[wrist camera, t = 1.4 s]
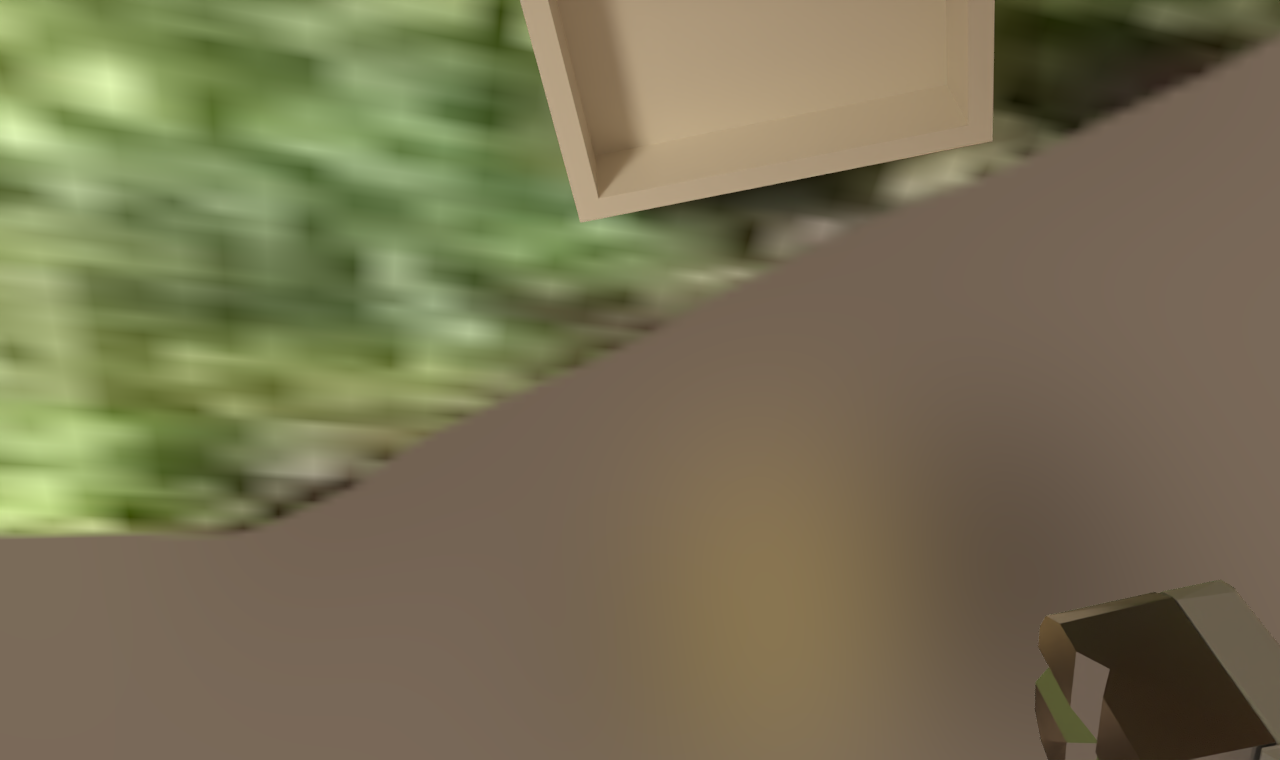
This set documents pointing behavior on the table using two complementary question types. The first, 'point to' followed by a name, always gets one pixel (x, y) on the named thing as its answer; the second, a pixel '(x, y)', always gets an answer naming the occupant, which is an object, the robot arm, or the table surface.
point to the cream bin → (754, 90)
